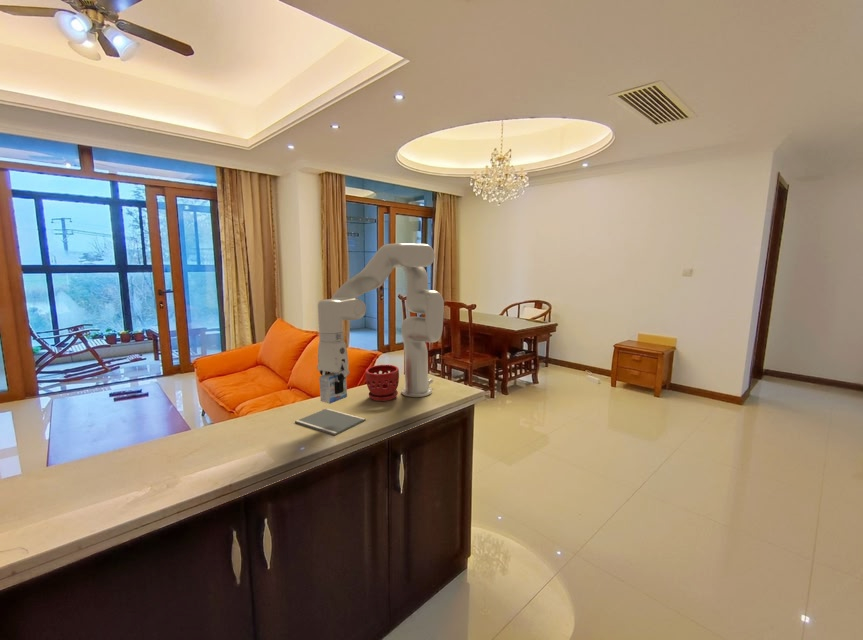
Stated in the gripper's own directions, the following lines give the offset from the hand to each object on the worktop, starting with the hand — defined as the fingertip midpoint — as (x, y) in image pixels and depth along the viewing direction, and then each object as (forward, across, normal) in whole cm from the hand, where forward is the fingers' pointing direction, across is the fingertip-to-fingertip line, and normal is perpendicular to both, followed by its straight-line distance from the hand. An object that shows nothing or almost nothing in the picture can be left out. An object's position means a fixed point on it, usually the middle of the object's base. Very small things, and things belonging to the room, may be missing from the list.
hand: (333, 391), depth 129 cm
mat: (+11, +2, 0) cm, 12 cm away
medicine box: (+3, 0, 0) cm, 3 cm away
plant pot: (+11, +3, -28) cm, 31 cm away
